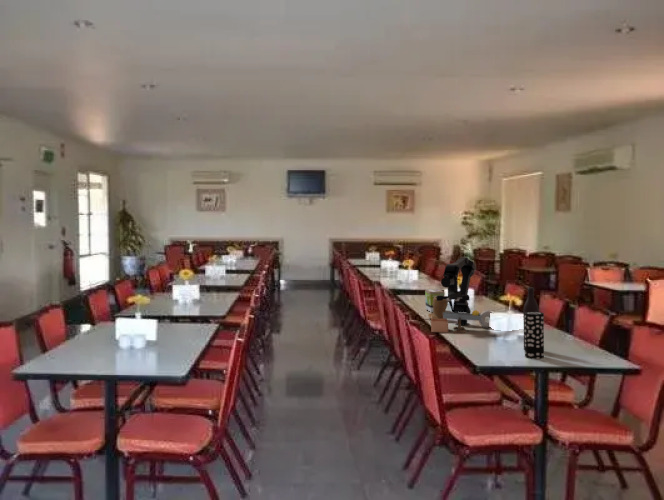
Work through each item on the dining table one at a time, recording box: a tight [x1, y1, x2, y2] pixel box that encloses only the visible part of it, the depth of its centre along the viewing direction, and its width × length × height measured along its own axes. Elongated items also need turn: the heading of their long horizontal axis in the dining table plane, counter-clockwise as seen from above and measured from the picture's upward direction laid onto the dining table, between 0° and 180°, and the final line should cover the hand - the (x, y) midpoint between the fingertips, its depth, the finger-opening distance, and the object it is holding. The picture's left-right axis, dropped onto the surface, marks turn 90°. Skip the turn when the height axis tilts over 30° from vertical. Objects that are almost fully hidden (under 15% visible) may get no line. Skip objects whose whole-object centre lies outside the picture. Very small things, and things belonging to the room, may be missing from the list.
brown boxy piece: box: [430, 315, 449, 333], centre depth 384 cm, size 10×11×8 cm
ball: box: [471, 309, 480, 316], centre depth 381 cm, size 4×4×4 cm
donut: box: [478, 310, 493, 329], centre depth 390 cm, size 10×3×10 cm, turn 99°
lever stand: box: [453, 318, 466, 334], centre depth 382 cm, size 6×15×8 cm, turn 172°
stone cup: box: [427, 296, 449, 320], centre depth 425 cm, size 15×12×15 cm
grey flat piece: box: [443, 311, 481, 321], centre depth 386 cm, size 21×16×3 cm
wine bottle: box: [522, 287, 540, 351], centre depth 320 cm, size 7×7×30 cm
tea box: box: [424, 288, 445, 313], centre depth 466 cm, size 15×10×15 cm
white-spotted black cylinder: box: [524, 311, 545, 360], centre depth 305 cm, size 8×8×20 cm
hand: (453, 312), depth 392 cm, fingers closed
